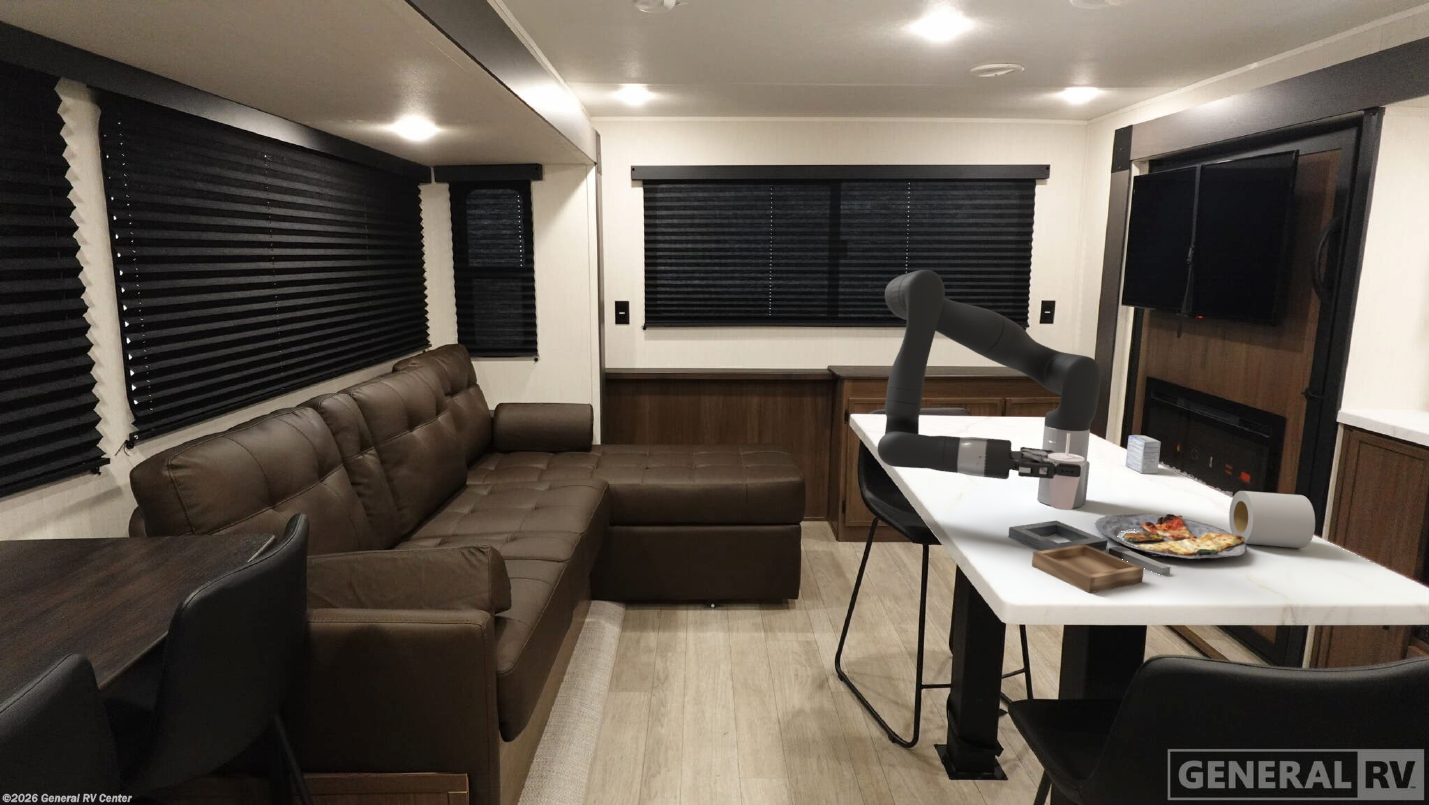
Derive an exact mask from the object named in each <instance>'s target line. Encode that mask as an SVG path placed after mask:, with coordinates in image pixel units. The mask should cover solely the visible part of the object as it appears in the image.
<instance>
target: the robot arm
mask: <svg viewBox="0 0 1429 805" xmlns="http://www.w3.org/2000/svg"><path fill="white" fill-rule="evenodd" d="M943 281H944V280H942V278H941V277H940V275H938V273H936V272H934V271H933V270H930V269H919V270H915V271H912V272H908V273H904V274H900V275H899V276H897V277H895V278H893V279H892V280H891V281H889V283H888V284H887V286H886V288H885V290H884V300H885V304H886V306H887V307H888V309H889V310H890V312H892V314H893V315H895V316H897V317H898V318H900V319H903V320H905V321H906V325H905V333H904V336H903V340H902V342H901V346H900V348H899V349H898V350H899V351H898V353H897V356H896V358H895V359H894V362H893V364H892V367H891V370H890V372H889V377H888V381H887V386H886V396H885V403H884V407H885V408H884V412H885V417H886V420H885V421H886V423H885V432H884V435H883V436H882V437H881V438H880V439H879V441H878V443H877V454H878V456H879V459H880V460H881V461H882V462H883V463H884V464H886V465H888V466H890V467H893V468H894V467H895V468H896V467H897V468H910V469H928V470H934V471H939V472H944V473H946V472H947V473H955V474H962V475H966V476H971V477H981V478H982V477H983V478H990V479H991V478H992V479H998V480H1009V477H1010V470H1011V471H1016V472H1017V474H1018V477H1026V478H1036V479H1038V489H1037V498H1036V499H1037V500H1038V501H1039V502H1040V503H1042V504H1045V505H1047V506H1051V497H1050V479H1053V478H1054V477H1056V476H1057V474H1058V475H1059V476H1069V477H1080V478H1079V483H1078V487H1077V491H1076V495H1075V499H1074V503H1073V507H1072V509H1073V508H1080V507H1082V506H1083V505H1084V504H1086V502H1087V493H1088V483H1089V473H1090V465H1091V464H1090V461H1088V452H1089V442H1090V435H1091V434H1090V433H1091V425H1092V422H1093V420H1094V418H1095V416H1096V413H1097V408H1098V402H1099V397H1100V393H1101V392H1100V391H1101V385H1102V384H1101V383H1102V371H1101V367H1100V365H1099V363H1098V362H1097V360H1096V359H1094V358H1092V357H1090V356H1087V355H1083V354H1082V355H1080V354H1075V353H1069V352H1062V351H1059V350H1055V349H1053V348H1051V347H1048V346H1046V345H1043V344H1041V343H1039V342H1038V341H1036V340H1034V339H1033V338H1032V337H1031V336H1030V335H1029V333H1028V332H1027V331H1026V330H1025V329H1024V328H1023V327H1022V326H1021V325H1019V324H1018V323H1016V322H1015V321H1013V320H1012V319H1010V318H1007V317H1005V316H1004V315H1002V314H1000V313H997V312H996V311H994V310H990V309H988V308H984V307H980V306H976V305H971V304H966V303H963V302H958V301H954V300H951V299H949V298H947V297H945V295H946V290H945V285H944V282H943ZM936 332H937V333H939V334H940V335H942V336H944V337H946V338H948V339H950V340H952V341H953V342H956V343H957V344H959V345H961V346H963V347H966V348H967V349H969V350H971V351H972V352H974V353H976V354H978V355H980V356H982V357H984V358H986V359H988V360H990V361H991V362H995V363H997V364H999V365H1002V366H1004V367H1007V368H1009V369H1013V370H1014V371H1015V370H1016V371H1018V372H1020V373H1022V374H1024V375H1026V376H1027V377H1028V378H1030V379H1031V380H1033V381H1035V382H1036V383H1038V384H1039V385H1040V386H1042V387H1044V388H1045V389H1046V390H1048V391H1050V392H1052V393H1054V394H1056V395H1060V397H1059V398H1060V399H1059V404H1058V406H1057V408H1056V409H1053V410H1049V411H1047V412H1046V414H1045V416H1044V424H1043V425H1044V426H1043V437H1042V446H1041V448H1033V447H1026V446H1022V447H1020V450H1014V451H1013V450H1012V445H1013V444H1012V441H1011V440H1009V439H999V438H990V437H989V438H988V437H979V436H977V437H975V436H968V437H967V436H965V437H960V436H951V435H926V434H919V433H920V432H919V429H920V428H919V426H920V425H919V424H920V419H919V418H920V412H921V409H922V408H921V407H922V400H923V392H924V383H925V376H926V372H927V371H926V370H927V366H928V361H929V356H930V352H931V348H932V344H933V342H934V337H935V334H936ZM1067 433H1070V445H1069V454H1075V455H1079V456H1081V457H1083V458H1085V465H1083V466H1082V470H1081V466H1080V465H1076V464H1065V463H1059V465H1058V463H1057V462H1052V461H1048V460H1047V459H1048V455H1049V454H1051V453H1065V452H1066V442H1067Z"/></svg>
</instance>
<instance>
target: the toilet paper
mask: <svg viewBox="0 0 1429 805" xmlns="http://www.w3.org/2000/svg"><path fill="white" fill-rule="evenodd" d="M1228 513H1229V515H1228V517H1229V518H1228V519H1229V520H1228V521H1229V528H1230V533H1231V534H1233V535H1238V536H1239V535H1240V536H1242V537H1244V539H1245V541H1244V543H1245V544H1246V545H1258V546H1269V547H1280V548H1290V549H1291V548H1292V549H1305V548H1307V547H1308V546H1309V545H1310V544H1311V542H1312V540H1313V538H1314V534H1315V530H1316V529H1315V528H1316V515H1315V511H1314V507H1313V504H1312V503H1311V501H1310V500H1309V499H1308V498H1307V497H1306V496H1304V495H1302V494H1288V493H1277V492H1261V491H1249V490H1239V491H1237V492H1236V493H1235V494H1234V496H1233V497H1232V499H1231V503H1230V506H1229V512H1228Z"/></svg>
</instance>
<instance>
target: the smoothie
mask: <svg viewBox="0 0 1429 805" xmlns="http://www.w3.org/2000/svg"><path fill="white" fill-rule="evenodd" d="M1069 445H1070V433H1067V442H1066V452H1065V453H1051V454H1049V455H1048V459H1047V460H1048V461H1052V462H1057V463H1058V465H1059V463H1065V464H1076V465H1080V466H1081V470H1082V466H1083V465H1085V458H1083V457H1081V456H1079V455H1075V454H1069ZM1079 478H1080V477H1069V476H1059V475H1058V474H1057V476H1056V477H1054V478H1053V479H1050V497H1051V505H1050V507H1051V508H1053V509H1056V510H1060V511H1061V510H1062V511H1069V510H1073V508H1072V507H1073V503H1074V499H1075V495H1076V491H1077V487H1078V483H1079Z"/></svg>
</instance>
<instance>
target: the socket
mask: <svg viewBox="0 0 1429 805" xmlns="http://www.w3.org/2000/svg"><path fill="white" fill-rule="evenodd" d="M1053 535H1054V536H1055V535H1056V536H1059V537H1061V538H1064V539H1066V540H1068V541H1062V542H1056V541H1054V540H1052V539H1049V538H1046V536H1047V537H1049V536H1053ZM1007 537H1008V538H1010V539H1012V540H1014V541H1016V542H1019V543H1021V544H1023V545H1025V546H1027V547H1030V548H1031V549H1032V548H1033V549H1034V550H1037V551H1044V550H1051V549H1057V548H1063V547H1069V546H1075V545H1082V544H1085V545H1088V546H1090V547H1093V548H1095V549H1098V550H1100V551H1103V552H1106V551H1107V547H1108V539H1105V538H1103V537H1100V536H1097V535H1095V534H1092V533H1090V532H1087V531H1085V530H1082V529H1079V528H1076V527H1074V526H1071V525H1068V524H1066V523H1064V522H1061V521H1058V520H1051V521H1049V520H1048V521H1043V522H1042V521H1041V522H1036V523H1029V524H1028V523H1027V524H1023V525H1015V526H1009V527H1008V536H1007Z"/></svg>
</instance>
